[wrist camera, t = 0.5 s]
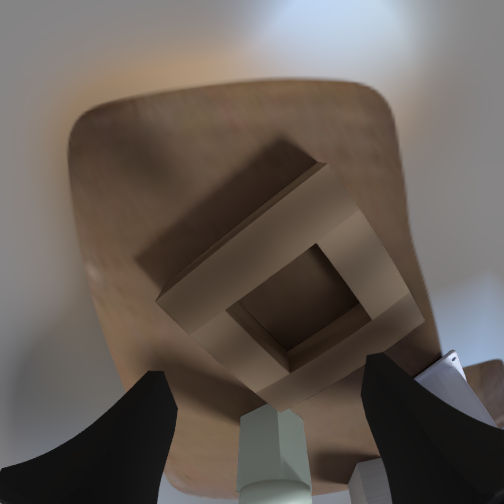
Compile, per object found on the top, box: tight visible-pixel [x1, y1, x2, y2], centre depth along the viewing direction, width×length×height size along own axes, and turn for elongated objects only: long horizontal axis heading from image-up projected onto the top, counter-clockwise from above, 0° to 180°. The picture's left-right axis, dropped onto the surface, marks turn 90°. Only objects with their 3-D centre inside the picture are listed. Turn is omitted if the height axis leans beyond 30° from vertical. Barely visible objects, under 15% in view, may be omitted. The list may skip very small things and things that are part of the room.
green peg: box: [236, 403, 312, 504], centre depth 19 cm, size 5×5×10 cm
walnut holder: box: [155, 162, 425, 413], centre depth 19 cm, size 12×12×2 cm
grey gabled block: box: [348, 458, 392, 504], centre depth 24 cm, size 4×7×10 cm, turn 4°
